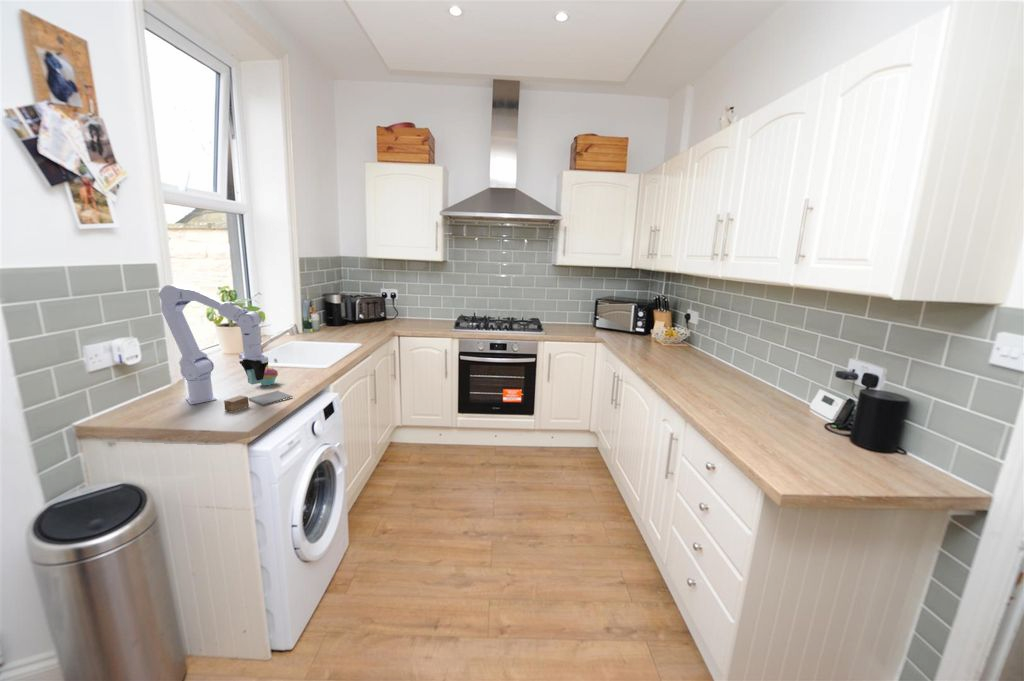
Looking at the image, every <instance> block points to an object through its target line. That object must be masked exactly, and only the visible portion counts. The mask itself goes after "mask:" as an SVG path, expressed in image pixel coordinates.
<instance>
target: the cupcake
mask: <svg viewBox="0 0 1024 681" xmlns="http://www.w3.org/2000/svg"><path fill="white" fill-rule="evenodd" d="M278 375H279V373H278V371H277V369H275V368H273V367H271V368H269V363H268V364H267V366H266V369H265V372H264V377H263V378H264V382H263V383H260V385H261V386H262V385H269V386H272V385H271V384H273V385H274V384H275V381H276V379H277V377H278Z"/></svg>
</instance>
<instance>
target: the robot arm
mask: <svg viewBox="0 0 1024 681" xmlns="http://www.w3.org/2000/svg"><path fill="white" fill-rule="evenodd" d="M158 297H159V299H160V301H161V303H160V304H161V306H160V307H161V308H160V309H161V313H162V315H163V317H164V319H165V321H166V323H167V326H168V328H169V330H170V332H171V335H172V337H173V339H174V341H175V342H176V345H177V347H178V349H179V352H180V354H181V358H180V360H179V361H178V363H179V367H180V374H181V376H182V377H183V378H184V379H185V381H186V384H187V392H188V396H186V397H185V400H187V402H188V403H189V405H195V404H201V403H207V402H212V401H216V400H217V397H216V396H215V395H214V393H213V384H212V383H213V382H212V372H213V370H214V369H215V365H214V362H213V361H212V359H210V358H209V357H208V354H206V353H205V352H204V351H202V350H200V348H199V345H198V344H197V341H196V339H195V337H194V334H193V332H192V330H191V328H190V325H189V323H188V321H187V318H186V317H185V315H184V314H185V313H184V309H185V308H186V306H187V305H188V304H190V303H191V302H197V303H200V304H202V305H204V306H207V307H210V308H212V309H214V310H216V311H217V312H218V314H219V316H221V317H223V318H226V319H228V320H229V321H232V322H235V323H236V324H237V326H238V327H239V329H240V333H241V340H242V350H243V352H240V353H238V357H239V363H238V364H240V365H241V366H242V368H243V369H244V371H245V373H246V375H247V370H249V369H254V372H255V376H256V379H257V380H262V379H263V377H264V372H265V369H266V366H267V364H268V365H269V357H268V356H265V355H264V354H263V352H262V350H263V349H262V343H261V331H260V325H261V323H262V316H261V315H260V313H258V312H257V311H254V310H249V309H248V308H245V307H244V308H243V307H242V306H239V305H237V304H236V302H235V301H224V302H223V301H221V300H219V299H218V298H216V297H214V296H212V295H211V294H209V293H206V292H205V291H203V290H202V289H200V288H199V287H198V286H194V285H192V284H191V283H181V284H180V283H179V284H167V285H164V286H163V287H161V290H160V291H159V292H158ZM240 359H241V360H240Z"/></svg>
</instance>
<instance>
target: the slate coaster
mask: <svg viewBox="0 0 1024 681" xmlns="http://www.w3.org/2000/svg"><path fill="white" fill-rule="evenodd" d="M290 397H293V395H291V394H289V393H284V392H282V391H279V390H275V391H271V392H267V393H262V394H259V395H255V396H252V397H251V396H250V397H248V401H250V400H251V401H250V402H253V401H254V402H253V403H255V402H256V403H255V404H257V403H258V405H260V404H261V405H260V406H262V405H265V406H268V405H267V404H269V405H272V404H275V403H274V402H276V403H278V402H277V401H280V400H283V399H286V398H290ZM280 402H281V401H280ZM271 403H272V404H271Z"/></svg>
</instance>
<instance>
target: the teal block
mask: <svg viewBox="0 0 1024 681" xmlns="http://www.w3.org/2000/svg"><path fill="white" fill-rule="evenodd" d="M246 376H247V383H248V384H250V385H257V384H261V383H263V382H264V378H263V379H262V380H257V379H256V376H255V372H254V369H249V370H247V374H246Z"/></svg>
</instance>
